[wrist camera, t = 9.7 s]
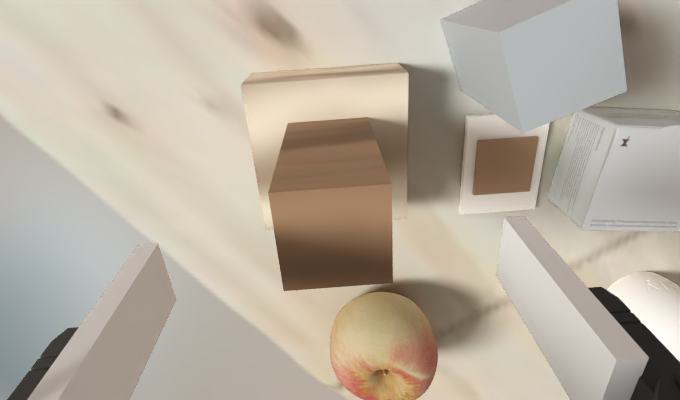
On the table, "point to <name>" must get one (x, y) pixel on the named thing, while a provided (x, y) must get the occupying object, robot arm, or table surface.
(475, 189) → the tile
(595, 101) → the slate pillar
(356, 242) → the walnut pillar
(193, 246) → the table surface
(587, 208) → the small box
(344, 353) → the apple
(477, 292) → the table surface
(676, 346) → the figurine
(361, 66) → the birch base
